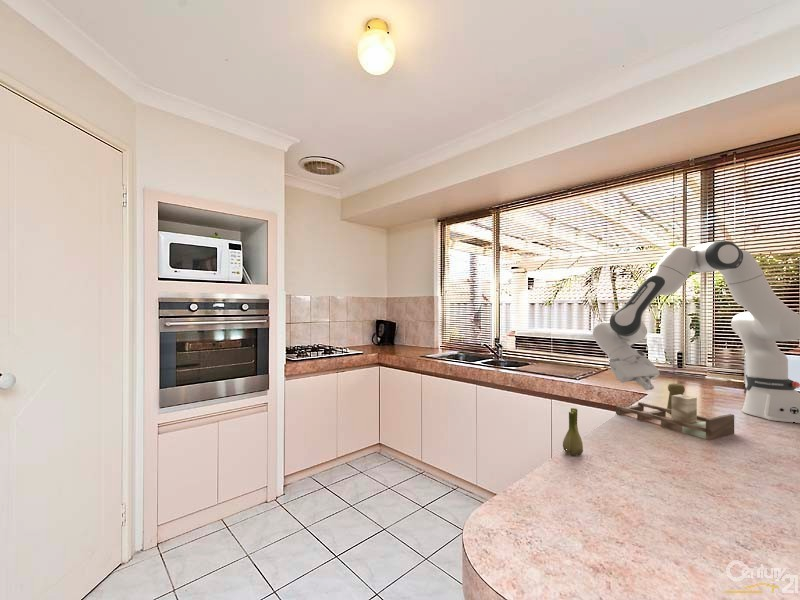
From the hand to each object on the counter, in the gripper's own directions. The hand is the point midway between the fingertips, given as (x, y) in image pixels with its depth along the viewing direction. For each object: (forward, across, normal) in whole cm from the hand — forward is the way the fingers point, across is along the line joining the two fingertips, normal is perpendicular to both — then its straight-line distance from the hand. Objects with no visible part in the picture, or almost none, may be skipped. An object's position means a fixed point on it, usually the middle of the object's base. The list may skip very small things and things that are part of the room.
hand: (650, 389), depth 137 cm
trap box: (+12, 0, +2) cm, 12 cm away
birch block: (+14, 0, -2) cm, 14 cm away
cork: (+7, +16, +8) cm, 19 cm away
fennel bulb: (+17, -54, -2) cm, 57 cm away
